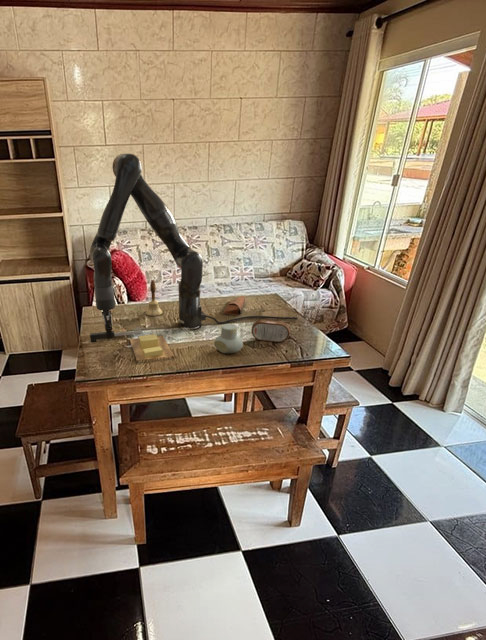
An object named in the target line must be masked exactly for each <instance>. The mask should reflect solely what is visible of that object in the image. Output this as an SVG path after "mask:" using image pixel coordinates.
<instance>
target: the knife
mask: <svg viewBox="0 0 486 640" xmlns="http://www.w3.org/2000/svg"><path fill="white" fill-rule="evenodd" d="M136 334H138V335H139V334H143V329H140V330H132V331H123V332H122V331H121V332H115V331H114V330H112V338H115V337H120V336H128V335H129V336H130V335H136ZM89 339H90V343H97V340H102V339H103V340H104V339H108V338H107V333H106V331H101V332H92V333H89Z"/></svg>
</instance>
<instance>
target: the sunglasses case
mask: <svg viewBox="0 0 486 640" xmlns="http://www.w3.org/2000/svg"><path fill="white" fill-rule="evenodd" d="M245 303H246V297H245V296H244V295H241V296H238V297H235V298H234V299H232V300H231V299H230V300H229V301H228V302H227V305H226V307H225V309H224V311H223V314H224V315H229V316H240V315H242V312H243V308H244V306H245Z"/></svg>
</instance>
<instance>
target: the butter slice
mask: <svg viewBox="0 0 486 640" xmlns="http://www.w3.org/2000/svg"><path fill="white" fill-rule="evenodd" d="M143 355H144V356H145V358H146V357H152V356H158V355H163V350H162V348H161V347H160V346H159V347H153V348H147V349H143Z"/></svg>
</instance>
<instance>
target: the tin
mask: <svg viewBox="0 0 486 640" xmlns="http://www.w3.org/2000/svg"><path fill="white" fill-rule="evenodd" d="M290 334H291V328H290V325H289V324H288V323H286V322H285V321H280V320H271V319H258V320H256V321H254V323H253V324H252V326H251V335H252V336H253V338H254V339H255V340H258V341H264V342H271V343H272V342H273V343H284V342H285V341H287V340H288V339H289V337H290Z"/></svg>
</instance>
